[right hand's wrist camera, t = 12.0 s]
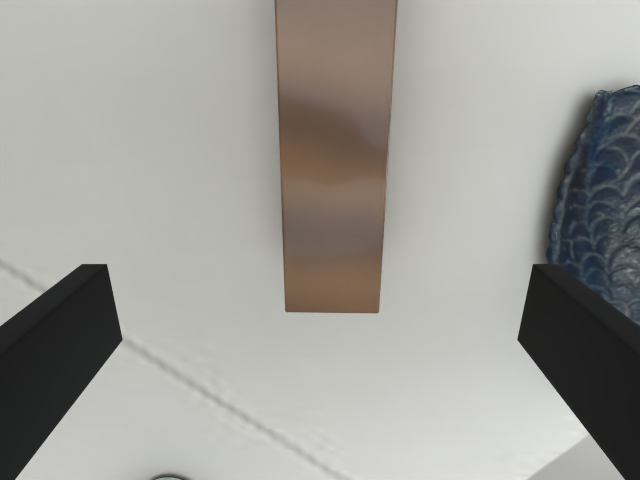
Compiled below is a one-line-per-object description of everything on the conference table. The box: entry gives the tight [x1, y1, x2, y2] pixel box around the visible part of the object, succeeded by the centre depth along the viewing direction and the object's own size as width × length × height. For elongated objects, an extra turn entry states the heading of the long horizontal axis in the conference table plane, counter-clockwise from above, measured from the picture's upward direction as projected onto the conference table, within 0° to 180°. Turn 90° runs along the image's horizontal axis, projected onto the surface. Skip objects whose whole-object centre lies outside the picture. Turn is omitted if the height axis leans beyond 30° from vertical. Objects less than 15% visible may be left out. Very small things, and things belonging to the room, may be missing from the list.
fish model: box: [546, 85, 640, 326], centre depth 25 cm, size 7×21×5 cm, turn 8°
